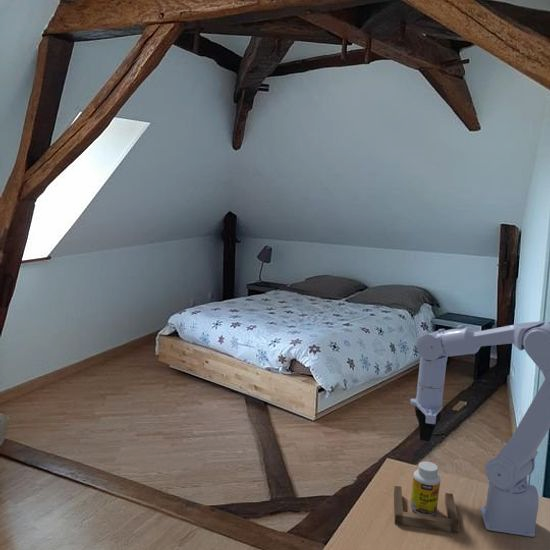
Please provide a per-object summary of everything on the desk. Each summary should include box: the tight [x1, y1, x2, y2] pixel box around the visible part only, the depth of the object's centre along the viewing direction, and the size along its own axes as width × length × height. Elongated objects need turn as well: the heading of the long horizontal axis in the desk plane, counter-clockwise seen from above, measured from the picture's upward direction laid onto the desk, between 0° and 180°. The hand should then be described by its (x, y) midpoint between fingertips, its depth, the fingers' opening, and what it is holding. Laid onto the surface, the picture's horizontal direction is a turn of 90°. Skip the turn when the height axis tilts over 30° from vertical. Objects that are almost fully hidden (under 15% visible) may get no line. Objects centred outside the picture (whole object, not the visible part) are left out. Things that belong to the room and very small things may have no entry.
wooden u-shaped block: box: [393, 485, 460, 534], centre depth 121 cm, size 12×11×2 cm
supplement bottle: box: [409, 461, 441, 516], centre depth 122 cm, size 6×6×10 cm
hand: (424, 439), depth 132 cm, fingers closed
